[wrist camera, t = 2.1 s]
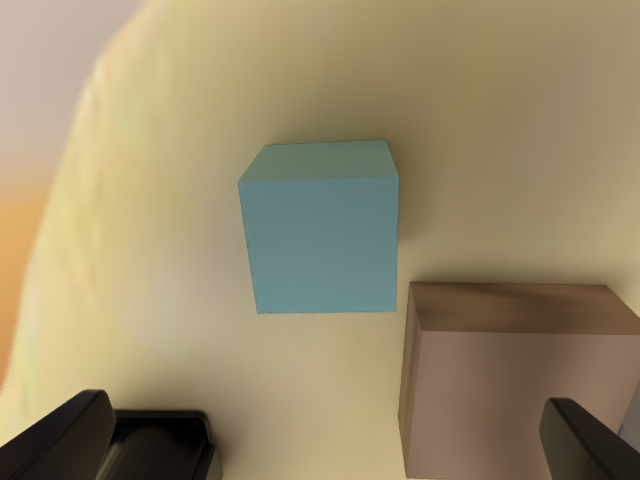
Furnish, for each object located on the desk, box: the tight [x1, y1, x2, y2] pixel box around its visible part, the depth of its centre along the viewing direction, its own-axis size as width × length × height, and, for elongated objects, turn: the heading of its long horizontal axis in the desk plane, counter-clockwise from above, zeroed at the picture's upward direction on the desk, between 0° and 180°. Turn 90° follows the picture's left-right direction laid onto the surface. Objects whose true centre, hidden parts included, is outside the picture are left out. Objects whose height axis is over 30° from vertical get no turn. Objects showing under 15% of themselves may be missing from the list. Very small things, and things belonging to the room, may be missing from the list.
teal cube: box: [238, 140, 399, 314], centre depth 16 cm, size 5×5×5 cm
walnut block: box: [398, 282, 640, 480], centre depth 20 cm, size 9×9×4 cm
